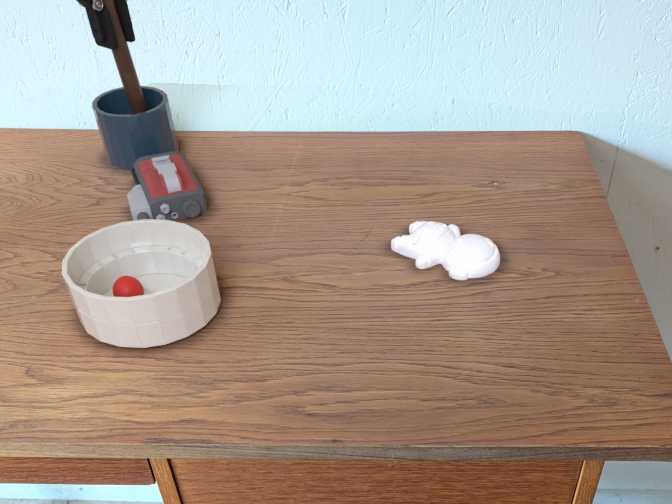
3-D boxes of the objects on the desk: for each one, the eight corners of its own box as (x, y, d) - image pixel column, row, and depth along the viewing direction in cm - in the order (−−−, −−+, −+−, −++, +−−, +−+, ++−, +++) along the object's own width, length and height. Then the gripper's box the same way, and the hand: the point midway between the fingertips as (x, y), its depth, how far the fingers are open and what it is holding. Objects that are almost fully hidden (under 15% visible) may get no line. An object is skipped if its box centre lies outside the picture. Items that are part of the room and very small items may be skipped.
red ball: (148, 303, 75) (131, 277, 75) (151, 292, 72) (134, 265, 72) (122, 316, 74) (105, 290, 74) (125, 305, 71) (107, 278, 71)
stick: (139, 148, 93) (88, -11, 81) (146, 142, 95) (96, -15, 82) (154, 148, 93) (104, -12, 80) (160, 141, 94) (112, -16, 82)
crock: (99, 172, 93) (81, 115, 88) (120, 140, 99) (105, 84, 93) (170, 175, 93) (156, 117, 87) (187, 142, 98) (175, 86, 93)
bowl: (62, 350, 70) (39, 296, 66) (106, 268, 79) (89, 216, 75) (204, 355, 70) (191, 302, 65) (233, 273, 79) (223, 221, 74)
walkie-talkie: (118, 182, 91) (149, 264, 80) (108, 146, 88) (138, 227, 76) (187, 169, 94) (227, 247, 82) (179, 134, 90) (220, 210, 78)
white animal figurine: (425, 222, 85) (426, 197, 83) (513, 256, 81) (517, 231, 78) (380, 255, 81) (379, 230, 78) (470, 293, 76) (473, 267, 74)
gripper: (96, -184, 77) (142, 17, 91) (-32, -160, 68) (40, 58, 83) (147, -178, 74) (186, 29, 88) (20, -151, 66) (86, 72, 80)
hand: (115, 41), depth 85 cm, fingers closed on stick, 2 cm apart
